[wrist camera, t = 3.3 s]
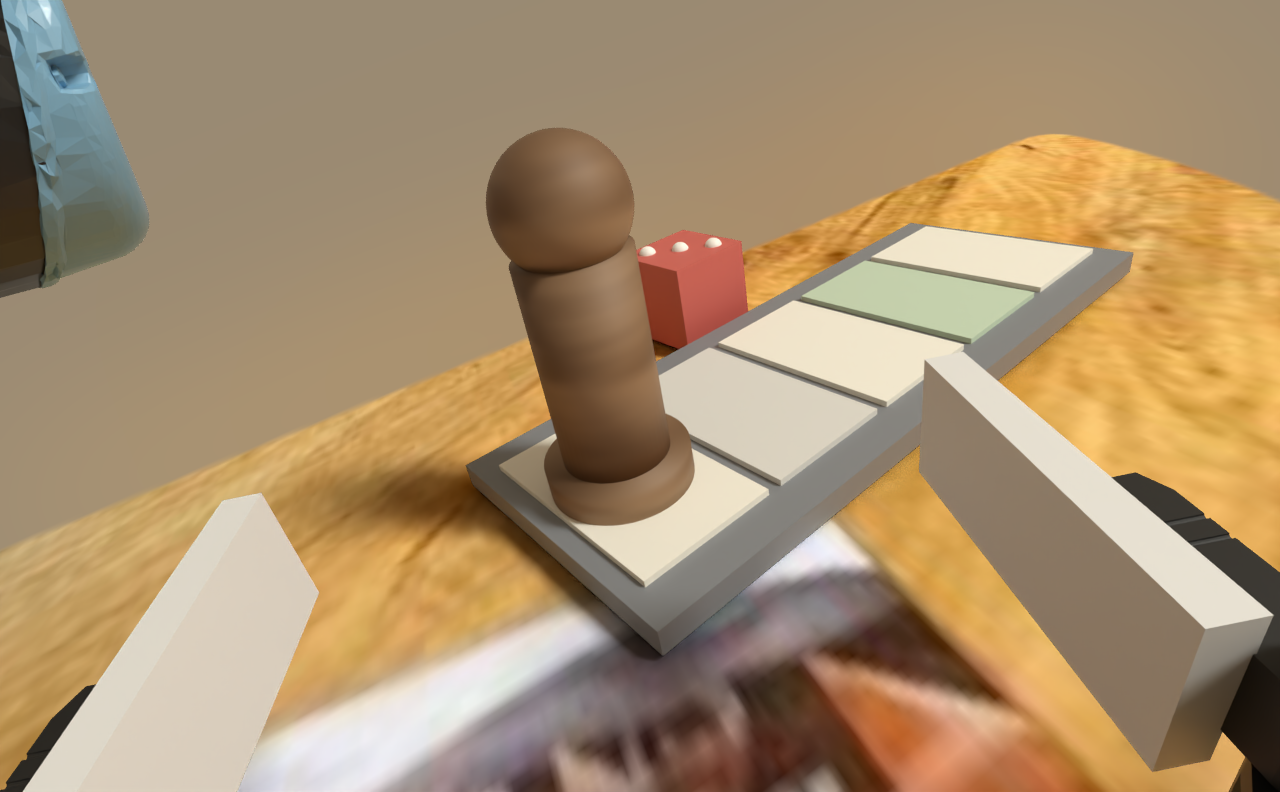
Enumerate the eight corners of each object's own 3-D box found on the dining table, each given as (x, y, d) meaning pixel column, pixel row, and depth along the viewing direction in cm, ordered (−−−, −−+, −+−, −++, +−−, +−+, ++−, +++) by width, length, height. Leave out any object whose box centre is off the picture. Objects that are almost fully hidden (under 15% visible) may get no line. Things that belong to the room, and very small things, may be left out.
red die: (635, 332, 37) (619, 250, 35) (693, 303, 40) (682, 223, 37) (689, 353, 34) (675, 264, 32) (748, 320, 36) (740, 234, 34)
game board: (472, 485, 28) (463, 460, 27) (910, 238, 42) (910, 219, 42) (662, 656, 19) (656, 625, 18) (1129, 271, 34) (1134, 247, 33)
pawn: (525, 483, 25) (418, 151, 19) (633, 419, 27) (568, 107, 21) (608, 549, 21) (507, 161, 15) (725, 468, 24) (677, 107, 18)
